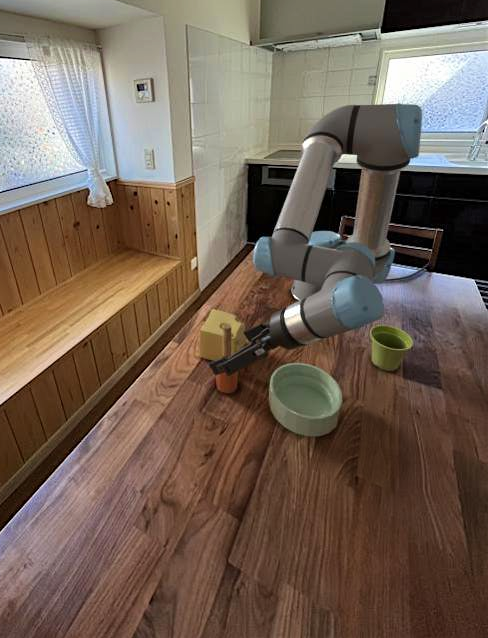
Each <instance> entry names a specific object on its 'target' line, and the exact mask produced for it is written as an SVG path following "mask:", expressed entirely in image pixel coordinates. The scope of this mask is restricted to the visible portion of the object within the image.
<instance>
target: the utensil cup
mask: <svg viewBox="0 0 488 638" xmlns="http://www.w3.org/2000/svg"><path fill="white" fill-rule="evenodd" d="M220 359H221V358H220ZM215 384H216V388H217V389H218V391H219V392H221V393H224V394H231V393H234V392H236V390H237V389H238V385H239V371H237V372H235V373H234V374H232V375H231V376H227V375H226V373H225V372H224V373H221V374H218V375H215Z"/></svg>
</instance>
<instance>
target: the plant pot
mask: <svg viewBox="0 0 488 638" xmlns="http://www.w3.org/2000/svg"><path fill="white" fill-rule="evenodd" d="M369 335H370V339H371V362H372V363H373V365H374V366H376V367H378V368H379V369H380V370H383V371H386V372H394V371H396V370H397V369H398V368H399V367H400V364H401V363H402V361H403V359H404V357H405V355H406V353H407V352H408V351H410V350H411V349H412V347H413V346H414V341H413V339H412V337H411V336H410V335H409V334H408V333H407V332H406V331H404V330H403V329H401V328H398V327H396V326H393V325H387V324H379V325H375V326H372V328H371V329H370V330H369Z"/></svg>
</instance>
